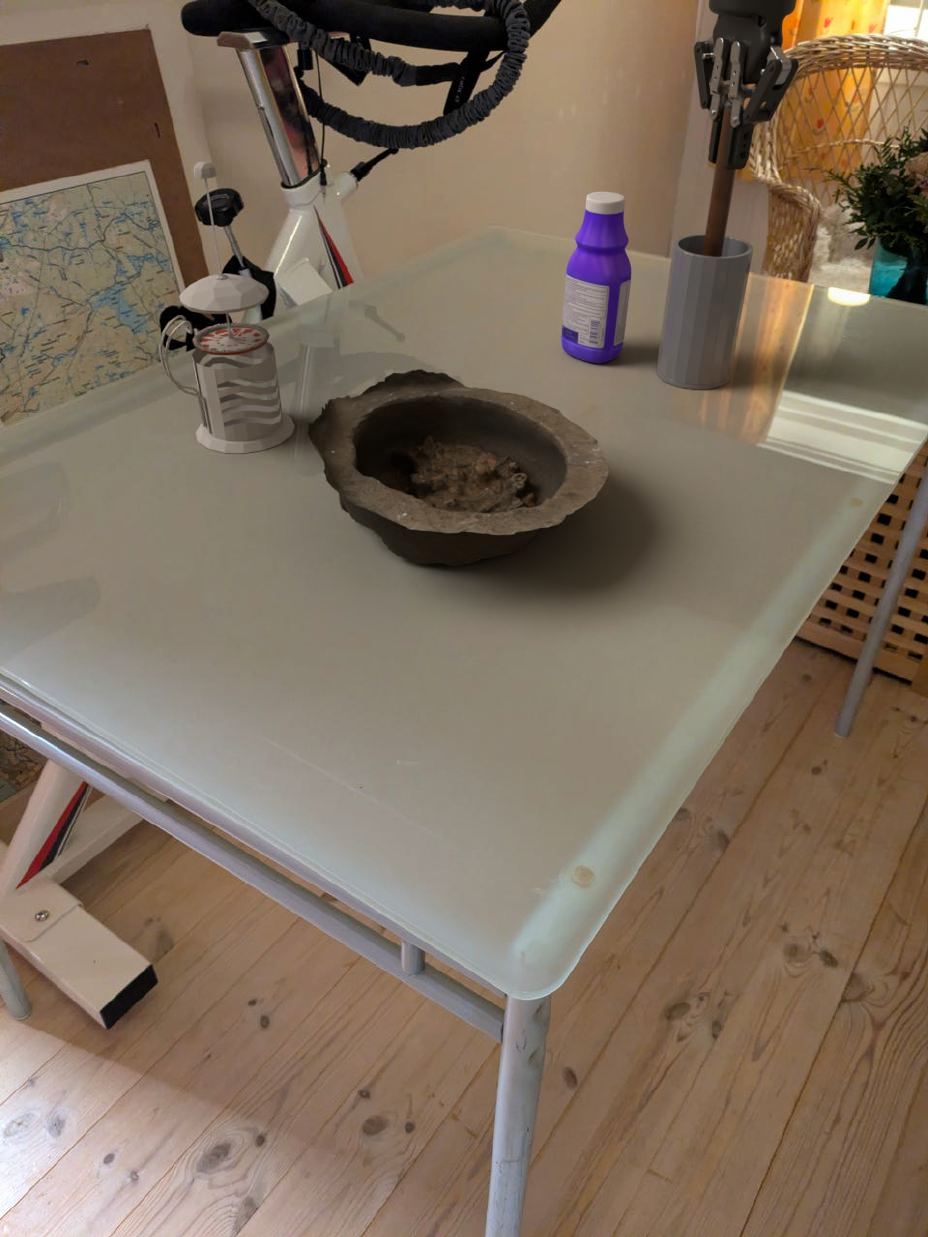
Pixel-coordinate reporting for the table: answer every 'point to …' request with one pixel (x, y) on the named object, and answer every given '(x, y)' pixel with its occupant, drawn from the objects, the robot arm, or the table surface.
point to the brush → (719, 196)
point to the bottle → (597, 282)
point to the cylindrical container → (702, 312)
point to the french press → (231, 361)
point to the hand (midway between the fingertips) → (726, 164)
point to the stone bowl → (454, 466)
